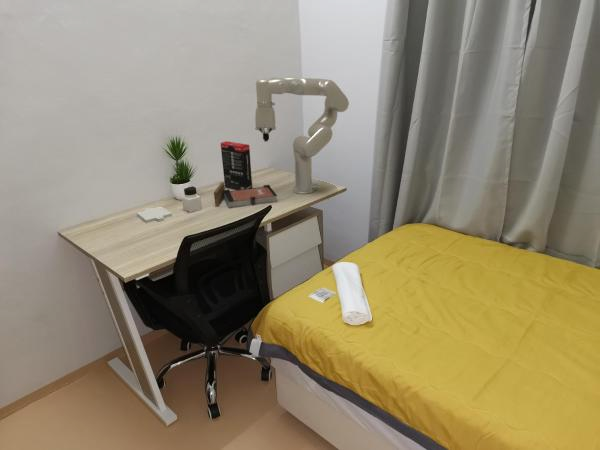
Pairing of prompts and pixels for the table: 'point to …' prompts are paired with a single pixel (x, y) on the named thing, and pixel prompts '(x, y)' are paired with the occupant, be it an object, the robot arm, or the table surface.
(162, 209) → the mounting plate
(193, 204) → the medicine bottle
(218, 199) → the walnut board
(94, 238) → the table surface
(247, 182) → the graphics card box
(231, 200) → the book
